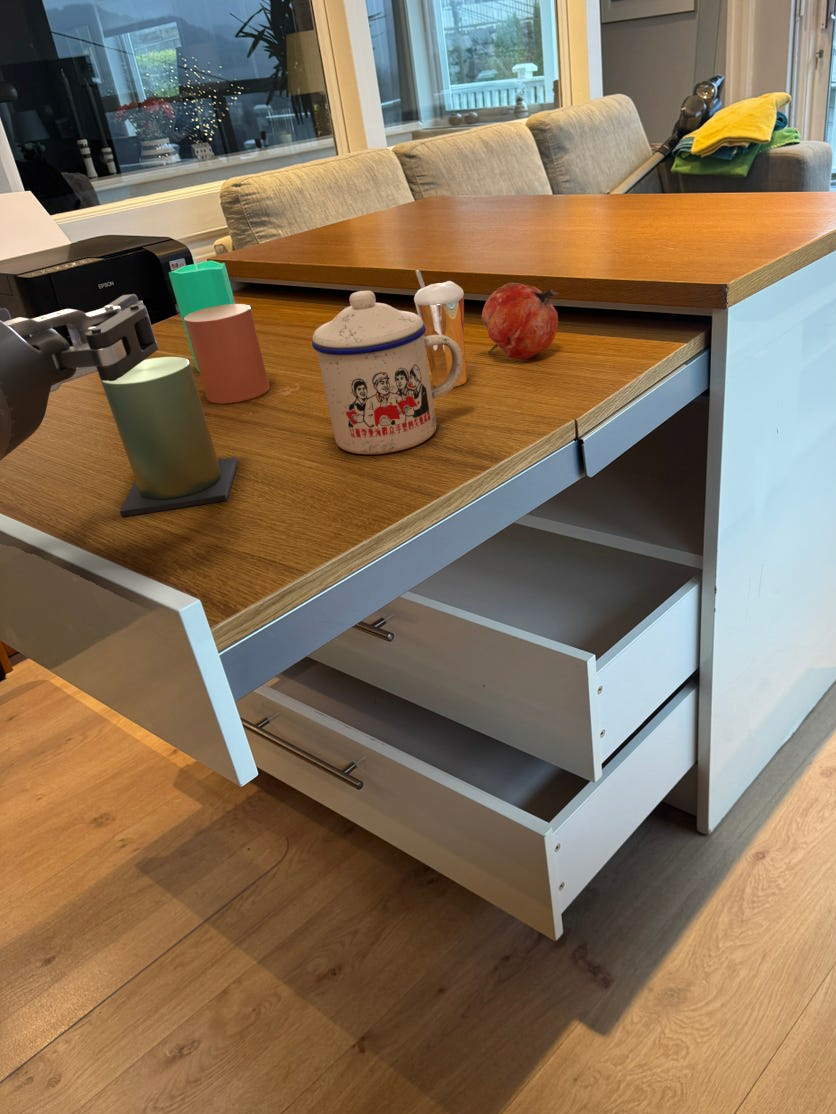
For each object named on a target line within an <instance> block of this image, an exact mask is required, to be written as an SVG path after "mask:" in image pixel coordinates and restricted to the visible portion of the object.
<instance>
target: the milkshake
mask: <svg viewBox="0 0 836 1114" xmlns="http://www.w3.org/2000/svg"><path fill="white" fill-rule="evenodd" d="M415 275H416V278H417V280H418V283H419V286H420V289H418V290H417V292H416V293H415V295H414V297H413V302H414V306H415V308H416V309H415V310H416V313H417V314H416V315H418V316H419V317H420V318H421V319H422V321H423V324H424V325H425V328H426V330H425V332H424V334H423V335H424V337H426V336H431V335H444V336H447V337H449V338H451V339H452V340H454V341H455V342H456V343H457V344H458V346H459V348H460V350H461V353H462V370H461V374H460V377H459V379H458V381H457V383H456V385H455V386H454V388H456V387H461V386H462V385H464V384H466V383H467V363H466V362H467V361H466V343H465V342H466V341H465V298H464V295H465V293H464V290H463V288H462V287H461V286H459V284H457V283H455V282H453V281H451V280H447V281H445V282H438V283H431V284H429V285H427V286H426V285H425V282H424V279H423V276H422V273H421V271H420V269H417V270H415ZM425 349H426V356H427V362H428V367H429V371H430V375H431V379H432V384H433V386H434V387H437V386H439V385H440V384H442V383H443V382H444V381H445V380H446V378H447V377H448V375H449V373H450V370H451V366H452V354H451V351H450V349H449V347H448V346H446V345H434V346H430V347H426V348H425Z"/></svg>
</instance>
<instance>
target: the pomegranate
mask: <svg viewBox="0 0 836 1114" xmlns="http://www.w3.org/2000/svg"><path fill="white" fill-rule="evenodd" d="M558 295H559V292H556V291H555V290H553V289H547V291H544V292H542V290H540V289H539V288H538V287H536V286H533V285H532V284H529V285H525V284H522V283H518V282H508V283H506V284H504V285H502V286H499V287H497V288H496V290H494V291H493V292H492V293H491V294H490V296H489V297H488V299H487V300H486V302H485V303H484V306H483V308H482V313H481V320H482V322H483V324H484V325H485V327H486V328H487V334H488V337H489V338H490V339H491V341H493V343H495V345H493V346H492V347H491V348H490V349H489V350H488V351H487V354H488V355H490V354H491V353H492V352H493V351H494V350H495V349H496V348H498V347H499V348H501V350H503V351H504V352H505V353H506V355H507V356H508V357H509V358H512V359H514V360H528V359H530V358H533V357H534V356H536V355H537V354H538V353H540V352H542V351H544V350H546V349H547V348H548V347H549V346H550V345H551V344H552V342H553V341H554V340H555V338H556V335H557V333H558V327H559V316H558V315H559V314H558V311H557V310H556V309H555V307H554V305H553V304H552V303H550V299H549V298H550V297H552V296H553V297H554V296H558Z"/></svg>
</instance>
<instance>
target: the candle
mask: <svg viewBox="0 0 836 1114" xmlns="http://www.w3.org/2000/svg"><path fill="white" fill-rule="evenodd" d="M191 254H192V258H193V262H194V263H192V264H189V265H184V266H181V267H179V268H177V269H175V270H171V271H168V277H169V280H170V283H171V287H172V290H173V294H174V297H175V300H176V304H177V308H178V310H179V315H180V317H181V322H182V324H183V325H182V326H183V328H184V332H185V335H186V338H187V339H186V340H187V342H188V345H189V349H190V352H191V355H192V360H193V363H194V366H195V369H196V370H197V372H198V373H199V369H198V366H197V362H196V359H195V355H194V352H193V348H192V345H191V341H190V338H189V335H188V331H187V328H186V324H185V321H184V318H185V316H187V315H188V314H190V313H193V312H195V311H198V310H201V309H205V308H209V307H214V306H220V305H228V304H236V301H235V298H234V293H233V289H232V286H231V282H230V279H229V274H228V270H227V266H226V263H225V262H219V261H215V260H206V261H202V262H197V261H196V257H195V254H194V251H191Z"/></svg>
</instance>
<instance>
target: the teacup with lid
mask: <svg viewBox="0 0 836 1114" xmlns="http://www.w3.org/2000/svg"><path fill="white" fill-rule="evenodd" d="M349 306H351V307H349ZM349 306H347V307H348V308H347V307H345V308H346V309H345V308H344V310H343V309H342V310H341V311H340V312H339V313H338V314H337V315H336V316H335V317H334V318H333V319H331V321H327V322H326V323H324V324H322V325H320V326H319V327H317V328H316V330H315V331H314V333H313V334H312V341H311V346H312V348H313V350H315V351H316V355H317V360H318V364H319V371H320V375H321V379H322V383H323V388H324V393H325V397H326V402H327V408H328V413H329V416H330V422H331V426H332V431H333V436H334V441H335V443H336V446H338V448H340V449H342V450H343V451H346V452H349V453H352V454H357V455H382V454H383V455H384V454H389V453H390V454H391V453H395V452H399V451H403V450H407V449H410V448H413V447H416V446H418V445H421V444H422V443H424V442H426V441H427V440H428V439H430V438H431V437H432V436H433V435H434V433H435V432H436V429H437V419H436V412H435V405H434V399H438V398H440V397H443V396H445V395H447V394H448V393H450V392H451V391H452V390H453V389H454V388H455V387H454V386H455V385H456V383H457V381H458V379H459V377H460V374H461V370H462V353H461V350H460V348H459V346H458V344H457V343H456V342H455V341H454V340H452V339H451V338H449V337H447V336H444V335H431V336H426V337H424V335H423V334H424V332H425V330H426V328H425V325H424V324H423V321H422V319H421V318H420V317H419V316H418V314H416V313H415V312H411V311H406V310H399V309H397V308H395V307H392V306H391V305H389V304H387V303H382V302H376V295H375V293H374V292H373V291H371V290H360V291H359V290H358V291H356V292H353V293H351V294H350V296H349ZM434 345H446V346H448V347H449V349H450V351H451V354H452V366H451V370H450V373H449V375H448V377H447V378H446V380H445V381H444V382H443V383H442V384H440V385H439V386H437V387H435V386H434V387H432V385H431V383H432V382H431V378H430V369H429V362H428V356H427V352H426V347H430V346H434Z"/></svg>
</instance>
